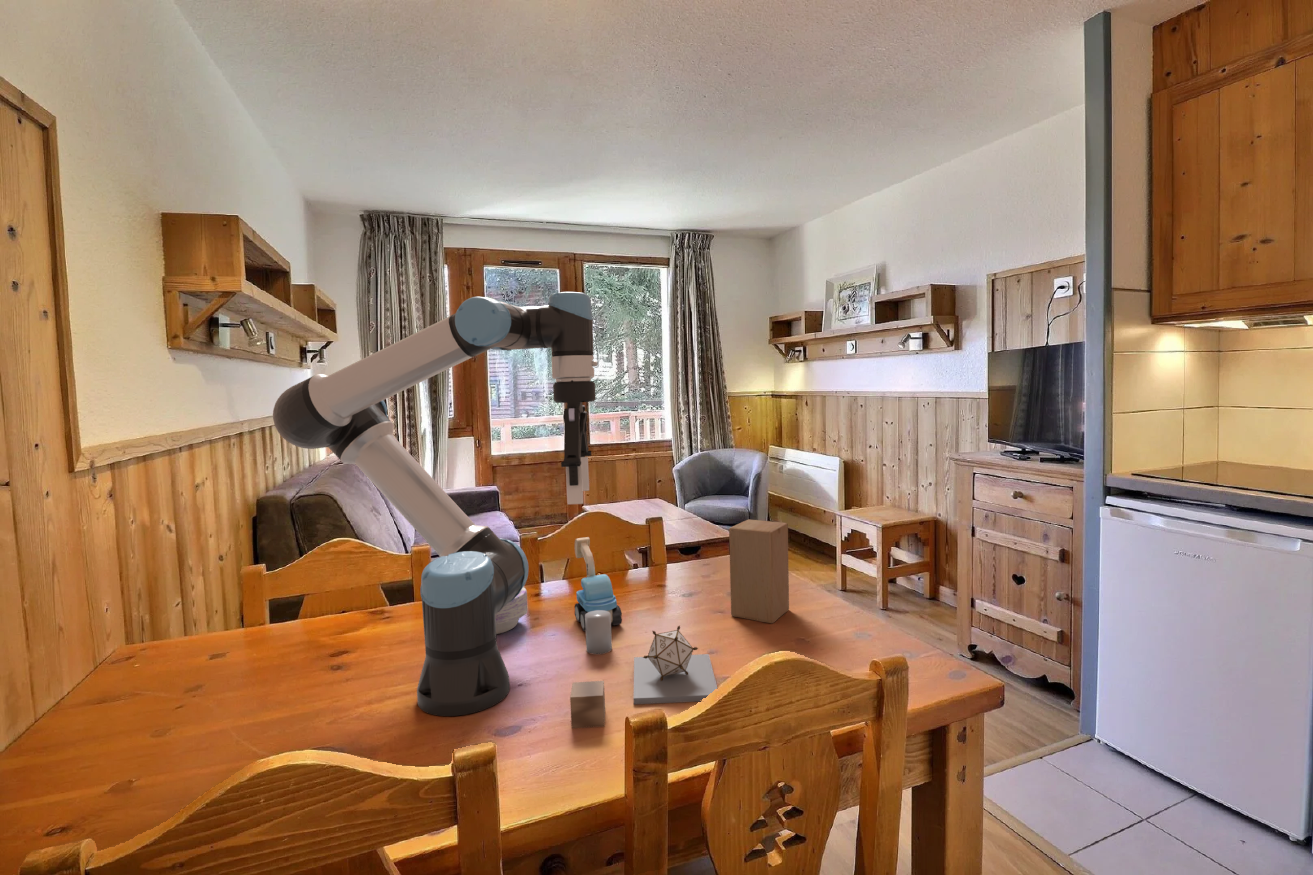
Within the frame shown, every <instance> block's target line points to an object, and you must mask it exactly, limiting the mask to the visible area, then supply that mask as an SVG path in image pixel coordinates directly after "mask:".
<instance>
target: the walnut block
mask: <svg viewBox="0 0 1313 875" xmlns="http://www.w3.org/2000/svg"><path fill="white" fill-rule="evenodd" d="M571 684H572V685H571V691H570V696H569V702H570V719H571V720H570V723H571V729H581V728H582V729H583V728H584V729H585V728H600V727H601V728H603V727H605V723H606V719H605V718H606V695H605V693H606V692H605V680H595V681H592V680H591V681H575V682H574V681H573V682H572V683H571Z"/></svg>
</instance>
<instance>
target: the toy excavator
mask: <svg viewBox="0 0 1313 875" xmlns="http://www.w3.org/2000/svg"><path fill="white" fill-rule="evenodd" d="M590 543H591V540H590V537H589V536H587V537H579V538H575V540H574V554H575V558H576V559H581V558H583V559H584V562H585V567H586V577H585V576H584V577H583V578H582V579H580V580H581V581H580V586H581V587H582V589H579V590H577V591H576V601H577V602H578V603H575V604H574V616H575V619H576V621H577V623H580V626H581V627H582V631H584V632H586V627H585V614H586V613H588V612H591V611H595V610H604V611H608V612H610V614H611V626H618V625H621V624H622V623H623V618H622V614H623V613H622V609H621V607H620V605H618V602H617V599H616V595H614V590H613V585H612V581H611V579H610V576H608V574H606V573H604V574H597V575H596V568H595V567H596V566H595V561H594V556H593V552H592V551H591V549H590V546H591V544H590Z"/></svg>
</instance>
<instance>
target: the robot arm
mask: <svg viewBox="0 0 1313 875" xmlns="http://www.w3.org/2000/svg"><path fill="white" fill-rule="evenodd" d="M548 300H549V301H548V304H547V305H541V306H517V305H513V304H511V303H506V302H504V301H502V300H501V301H500V300H498V299H496V298H493V297H489V296H472V297H470V298H467V299H465V300H464V301H463V302H462V303H461V304H460V305H459V307H458V309H457V310H456V312H455V313H453V314H451V315H450V316H448V317H446V318H444V319H442V320H440V321H437V322H435V323H433V324H431V325H429V326H427V327H425V328H423V329H421V330H419V331H417V332H415V333H412V334H411V335H409V336H407V337H404V338H403V339H401V340H398V341H396V342H394V343H392V344H389V345H388V346H386V347H385V348H382V349H380V350H378V351H376V352H373V353H372V354H369V355H368V356H366V357H364V358H362V359H359V360H358V361H357V360H356V361H355V362H353V363H352V364H350V365H348V366H346V367H344V368H341V369H339V370H337V371H335V372H332V373H330V374H329V375H328V374H324V373H317V374H315V375H313V376H310V377H309V378H307V379H304V380H303V381H300V382H299V383H296V384H294V385H292V386H290V387H289V388H287V389H286V390H284V391H283V392H282V393H281V394H280V395H279V397H278V398H277V400H276V402H275V404H274V406H273V411H272V420H273V424H274V427H275V429H276V431H277V433H278V434H279V435H280V436H281V438H282V439H283V440H285V441H286V442H288V443H289V444H291V445H293V446H295V447H297V448H301V449H307V450H308V449H310V450H314V449H324V448H328V449H329V450H330V451H331V452H332V453H333V454H334V455H335V456H336V457H337V459H338V460H339V461H341V463H342V464H345V465H356V467H358V468H359V470H360V471H361V472H362V473H363V474H364V476H365V477H367V479H369V481H370V482H371V483H372V484H373V485H374V486H375V487H376V488H377V489H378V490H379V492H380V493H381V494H382V495H383V496H384V497H385V498H386V499H387V500H388V502H389V503H391V504H392V506H393V507H394V508H395V509H396V510H397V511H398V512H399V513H400V515H402V517H403V518H404V519H405V520H406V521H407V522H408V523H409V524H410V525H411V526H412V528H413V529H414V530H415V531H416V532H417V533H418V534H419V535H420V536H421V537H422V538H423V539H424V540H425V542H426V543H427V544H428V545H429V546H430V547H431V548H432V549H433V550H434V551H435V553H436V554H437V555H438V556H439V557H437V558H436V559H433V560H432V561H430V562H429V563H428V564H427V565H426V566H425V567H424V568H423V569H422V573H421V580H420V581H421V582H420V583H421V584H420V588H419V589H420V597H421V606H422V607H421V608H422V620H423V621H422V622H423V634H424V635H423V636H424V647H425V649H424V650H425V656H424V657H425V658H424V662H423V666H422V669H421V673H420V676H419V680H418V684H417V687H416V697H417V698H416V699H417V705H418V707H419V709H420V710H421V711H423V712H425V713H426V714H430V715H433V716H440V717H441V716H442V717H455V716H456V717H458V716H465V715H470V714H473V713H474V714H475V713H478V712H480V711H483V710H486V709H488V708H491V707H493V706H495V705H496V704H498V703H500V702H501V701H502V700H504V699H505V698H506V697H507V695H508V694H509V692H510V689H511V688H510V675H509V672H508V670H507V669H508V668H507V666H506V665H505V662H504V660H503V657H502V655H501V652H500V650H499V648H498V644H497V643H498V642H497V640H498V639H497V634H496V620H495V614H496V613H497V612H499V611H500V610H501V609H502V608H503V607H504V606H505V605H507V604H508V603H509V602H511V601H512V600H513V599H514V598H515V597H516V596H517V595H518V594H519V593H520V591H521V589H522V588H523V587H524V588H525V585H526V584H527V580H528V578H529V577H528V576H529V562H528V559H527V556H526V554H525V552H524V550H523V549H522V548H521V547H520V546H519V544H517V543H516V542H514V541H513V540H510V539H505V538H500V537H498V535H497V534H496V533H495V532H494V531H493V530H492V529H491V528H490V527H489V526H487V525H477V524H475V522H474V521H473V520H471V518H470V517H469V516H468V515H467V514H466V512H464V511H463V509H461V508H460V507H459V505H457V503H456V502H455V501H454V500H453V499H452V498H451V496H449V495H448V494H447V492H446V491H445V490H444V489H443V488H442V487H441V486H440V485H439V483H437V481H436V480H435V479H434V478H433V477H432V476H431V475H430V474H429V473H428V472H427V470H425V468H423V466H422V465H421V464H420V463H419V462H418V461H417V460H416V459H415V457H413V456H412V455H411V453H410V452H409V451H408V449H406V448H405V447H404V446H403V445H402V444H401V443H400V442H399V440H398V439H396V437H395V436H394V429H395V428H394V427H395V426H394V423H393V421H391V420H390V418H389V415H388V407H387V405H386V402H385V400H387V399H389V398H391V397H393V396H395V395H397V394H400V393H401V392H403V391H406V390H408V389H409V388H411V387H413V386H416V385H418V384H420V383H422V382H424V381H426V380H428V379H430V378H432V377H434V376H436V375H439V374H441V373H442V372H445V371H447V370H449V369H451V368H453V367H455V366H457V365H459V364H461V363H464V362H465V361H468V360H469V359H472V358H475V357H477V356H478V355H481V354H483V353H485V352H488V351H489V350H495V351H508V352H509V351H512V350H513V351H514V350H528V349H529V350H531V349H532V350H533V349H549V348H550V349H551V373H552V374H551V377H552V379H553V380H555V382H553V384H552V389H553V401H554V403H556V404H558V403H559V404H564V403H565V404H566V408H564V410H563V417H562V418H563V422H564V423H563V424H564V426H563V427H564V443H563V444H564V451H563V452H564V453H563V454H564V459H563V461H561V462H560V463H561V465H560V467H561V468H565V483H566V484H565V485H566V502H567V505H582V504H583V505H584V492H587V491H590V475H589V474H590V473H589V472H590V470H589V457H591V456H592V450H589V446H588V444H589V443H588V423H587V422H588V412H587V411H586V407H585V406H586V405H584V404H583V403H591V402H594V401H595V400H596V396H597V395H596V382H595V381H594V380H593V381H592V379H593V378H594V377H595V368H594V367H598V362H597V360H594V359H595V357H594V353H595V352H594V330H593V329H594V318H593V314H592V312H593V311H592V302H591V297H590V296H589V295H588V294H586V293H584V292H577V291H561V292H555V293H551V294H550V296H549V297H548Z"/></svg>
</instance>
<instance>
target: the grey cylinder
mask: <svg viewBox="0 0 1313 875" xmlns="http://www.w3.org/2000/svg"><path fill="white" fill-rule="evenodd" d="M585 627H586V631H585V643H586V645H585V646H586V652H587V653H589V654H591V655H604V654H607V653H610V652H612V649H613V647H612V646H613V645H612V640H613V639H612V624H611V614H610V612H608V611H604V610H595V611H591V612H588V613H586V614H585Z"/></svg>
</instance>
